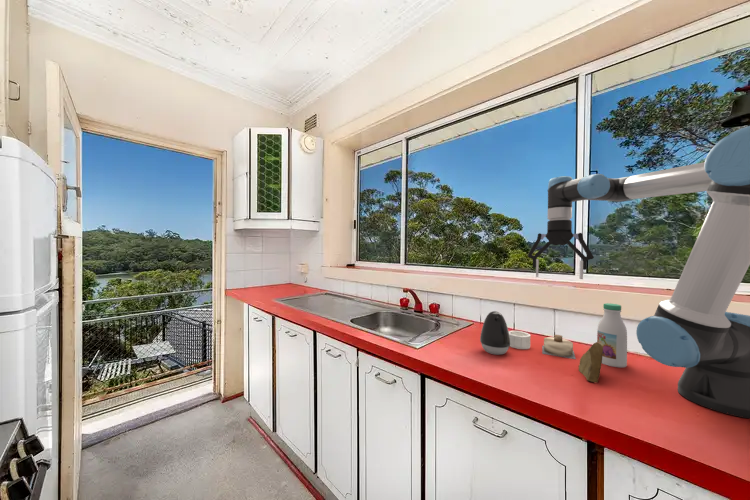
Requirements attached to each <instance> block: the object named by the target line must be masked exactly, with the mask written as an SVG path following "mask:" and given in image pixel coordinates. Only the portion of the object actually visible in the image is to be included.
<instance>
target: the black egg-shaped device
mask: <svg viewBox="0 0 750 500" xmlns="http://www.w3.org/2000/svg"><path fill="white" fill-rule="evenodd" d="M509 331H510V330H509V328H508V325H507V322H506V320H505V318H504V316H503V314H502V313H500V312H499V311H496V310H494V311H490V312H489V313H488V314H487V315H486V317H485V319H484V321H483V325H482V327H481V332H480V337H479V341H480V344H481V347H482V349H483V350H484V351H485V352H487V353H488V354H490V355H497V356H501V355H504V354H506V353H507V352H508V350H509V348H510V336H509Z"/></svg>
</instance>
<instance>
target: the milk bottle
mask: <svg viewBox="0 0 750 500" xmlns="http://www.w3.org/2000/svg"><path fill="white" fill-rule="evenodd" d="M602 307H603V311H604V312H603V315H602V317H601V318H600V321H599V322H598V325H597V333H596V334H597V335H596V336H597V337H596V342H597V343H599V344H601V345H602V346H603V354H602V364H603V365H606V366H609V367H615V368H626V367H628V364H627V363H628V331H627V327H626V324H625V323H624V321H623V318H622V315H621V312H622V305H621V304H617V303H611V302H610V303H609V302H607V303H603V306H602ZM602 364H601V365H602Z"/></svg>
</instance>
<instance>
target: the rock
mask: <svg viewBox="0 0 750 500" xmlns="http://www.w3.org/2000/svg"><path fill="white" fill-rule="evenodd" d="M602 354H603V346H602V345H601V344H599V343H597V341H596V342H593V344H591V346H590V347H589V348H588V349H587V350H586V352H584V353H583V354H582V356H581V357H580V359H579V365H578V372H580V373H581V374H582V375H583V377H585V379H586V380H587V382H591V383H595V384H596V383H597V384H598V383H599V379H600V377H601V376H600V374H601V368H602Z"/></svg>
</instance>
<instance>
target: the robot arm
mask: <svg viewBox="0 0 750 500" xmlns="http://www.w3.org/2000/svg"><path fill="white" fill-rule="evenodd" d="M699 192H706V193H707V194H708V195H709V196H710V198H711V199H712V203H711V206H710V208H709V210H708V211H707V212H708V213H707V215H706V217H705V220H704V221H703V223H702V226H701V228H700V231H699V233H698V236H697V237H696V240H695V242H694V245H693V246H692V249H691V252H690V253H689V256H688V258H687V261H686V263H685V265H684V268H683V270H682V272H681V275H680V277H679V278H678V279H679V280H678V282H677V283H676V285H675V289H673V290H674V291H673V293H672V295H671V297H670V298H668V299H665V300H662V301H660V302H659V303H658V306H657V308H656V310H655V313H654V315H651V316H648V317H645V318H643V319H642V320H641V321H640V322H638V325H637V327H636V333H635V334H636V338H637V341H638V343H639V344H640V345H641V348H642V349H643V351H644V352H645V353H646V354H647V355H648V356H649V357H650V358H652V359H653V360H655V361H656V362H658V363H660V364H662V365H665V366H667V367H673V368H684V371H683V372H682V374H681V376H680V378H679V379H678V382H677V392H678V394H680V395H681V396H682V397H684V398H685V399H686V400H689V401H691V402H692V403H694V404H696V405H700V406H702V407H705V408H707V409H711V410H713V411H717V412H720V413H723V414H727V415H731V416H734V417H739V418H744V419H750V315H749V314H742V313H735V312H728V311H727V310H728V308H729V306H730V304H731V302H732V301H733V298H734V296H735V294H736V292H737V291H738V288H739V287H740V284H741V283H742V281H743V279H744V277H745V275H746V273H747V271H748V269H749V267H750V125H748V126H744V127H742V128H739V129H736V130H735V131H733V132H731V133H729V134H728V135H726V136H724V137H723V138H721V139H720V140H719V141H717V143H716V144H714V146H713V147H712V148H711V149H710V150H709V152H708V153H707V155H706V157H705V160H704V162H698V163H693V164H687V165H683V166H678V167H677V166H676V167H672V168H667V169H661V170H657V171H652V172H651V171H650V172H645V173H639V174H635V175H630V176H625V177H624V176H623V177H619V178H609V177H607V176H606V175H604V174H602V173H596V174H587V175H586V176H583V177H579V178H574V179H573V177H571V176H569V175H566V176H565V175H564V176H562V175H561V176H556V177H552V178H550V179H549V181H548V185H547V220H548V221H547V228H546V229H547V230H546V231H547V232H546V234H545V233H541V232H540V233H539V232H538V234H537V239H536V241H535V242H534V243H533V246H532V247H531V249H530V250H529V253H528V254H527V258H530V259H532V267H533V268H535V277H536V278H537V277H539V267H540V266H539V260H540V259H538V257H539V256H541V255H542V253H544V252H545V251H546V249H547V248H549V247H550V246H551V245H552V246H566V245H567V246H568V247H569V248H570V249H571V250H572V251H573V252H574V253H575V254H576V255H577V256H578V257H579V258H580V259H581V260H579V279H580V280H584V271H585V270H587V269H588V261H589V260H593V259H594V258H595V256H594V255H593V252H591V250H590V249H589V247H588V245H587V243H586V242H585V240H584V237H583V233H582V232H578V233H573V231H572V229H573V224H572V223H573V222H572V220H571V219H572V218H573V203H574V202H578V201H579V202H581V201H606V202H616V203H623V202H630V201H632V200H637V199H647V198H655V197H656V198H657V197H663V196H664V197H665V196H672V195H673V196H674V195H682V194H683V195H684V194H690V193H691V194H692V193H699ZM544 238H546V239H547V240H548V241H547V242H546V243H545V245H543V246H542V247H541V248H540V249H539V251H537V252H536V253H535V254H534V252H535V251H536V249H537V247H538V246H539V244H540V243H541V241H542V240H543V239H544ZM573 238H574V239H576V240H578V242H579V244H580V245H581V247H582V249H583V251H584V252H585V254H586V256H585V254H583V252H582V251H581V250H579V248H577V246H575V245H574V244H573V242H572V241H571V240H572V239H573Z"/></svg>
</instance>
